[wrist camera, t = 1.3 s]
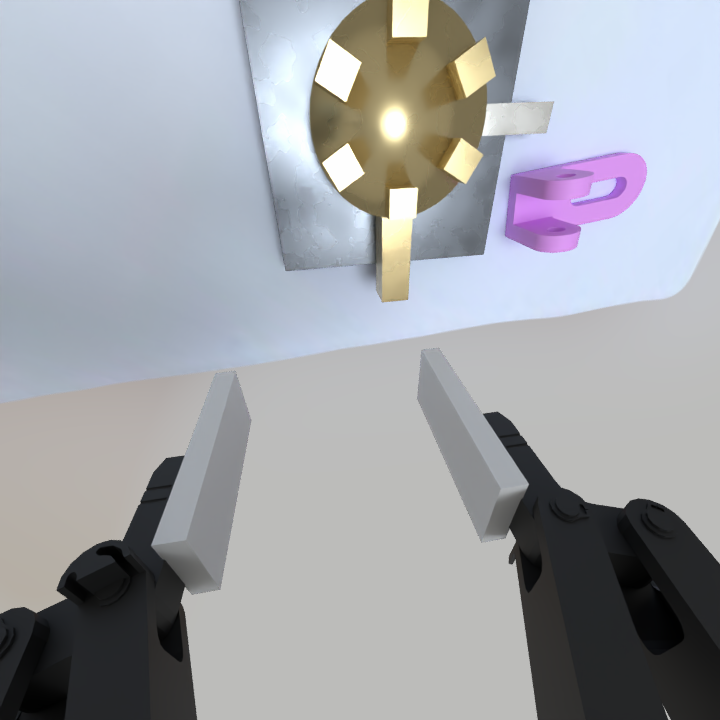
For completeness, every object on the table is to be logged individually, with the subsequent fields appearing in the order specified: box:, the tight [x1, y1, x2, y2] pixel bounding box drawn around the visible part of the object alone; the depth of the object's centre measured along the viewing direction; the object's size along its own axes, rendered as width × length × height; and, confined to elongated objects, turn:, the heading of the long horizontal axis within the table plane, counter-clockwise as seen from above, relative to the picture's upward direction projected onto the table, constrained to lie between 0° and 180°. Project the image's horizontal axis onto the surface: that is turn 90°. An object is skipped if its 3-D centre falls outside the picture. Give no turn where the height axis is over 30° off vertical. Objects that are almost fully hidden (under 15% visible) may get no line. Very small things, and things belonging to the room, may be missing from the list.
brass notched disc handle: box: [309, 0, 496, 302], centre depth 24 cm, size 19×12×4 cm, turn 2°
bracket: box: [505, 153, 647, 253], centre depth 29 cm, size 13×6×7 cm, turn 99°
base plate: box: [239, 0, 554, 271], centre depth 25 cm, size 22×21×2 cm
